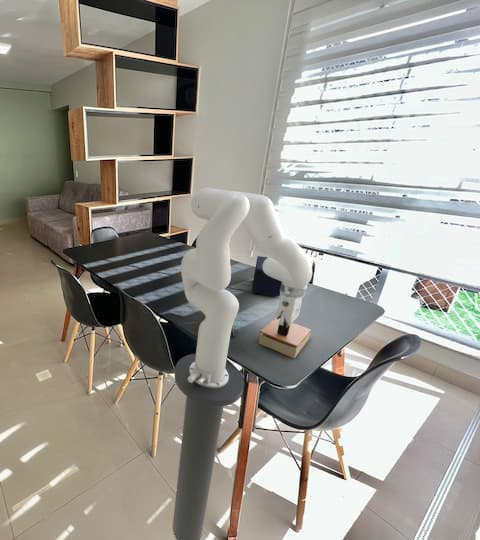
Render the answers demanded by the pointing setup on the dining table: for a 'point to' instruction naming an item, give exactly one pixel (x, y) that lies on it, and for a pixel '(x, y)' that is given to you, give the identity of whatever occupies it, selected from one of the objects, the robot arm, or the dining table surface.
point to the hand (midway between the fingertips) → (282, 333)
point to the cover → (294, 334)
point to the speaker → (265, 280)
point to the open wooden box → (282, 345)
